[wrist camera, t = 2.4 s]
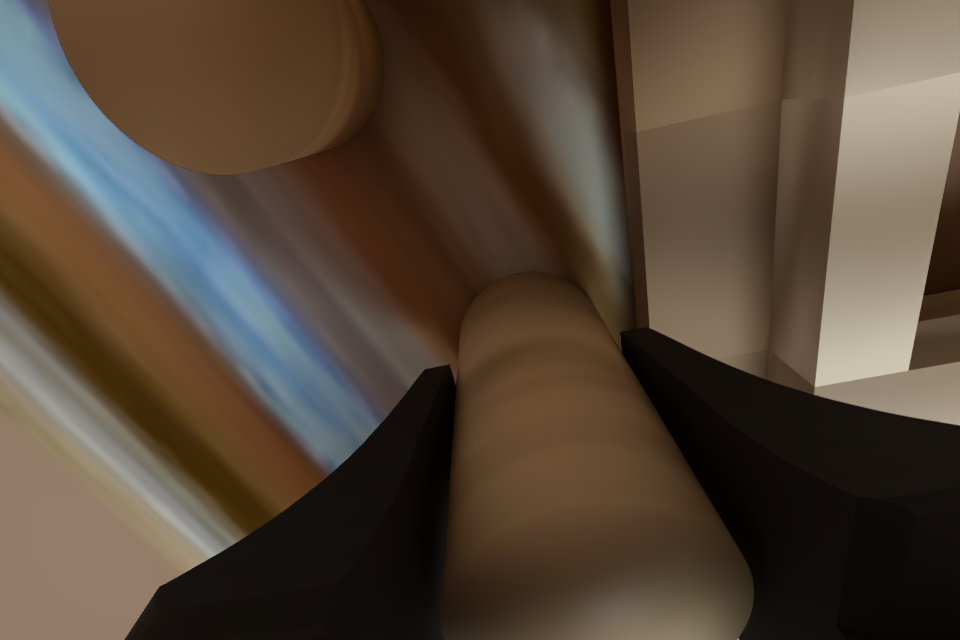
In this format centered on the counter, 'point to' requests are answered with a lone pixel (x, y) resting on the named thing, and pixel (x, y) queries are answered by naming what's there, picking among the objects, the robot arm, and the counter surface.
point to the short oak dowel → (226, 75)
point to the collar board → (702, 169)
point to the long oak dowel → (573, 488)
